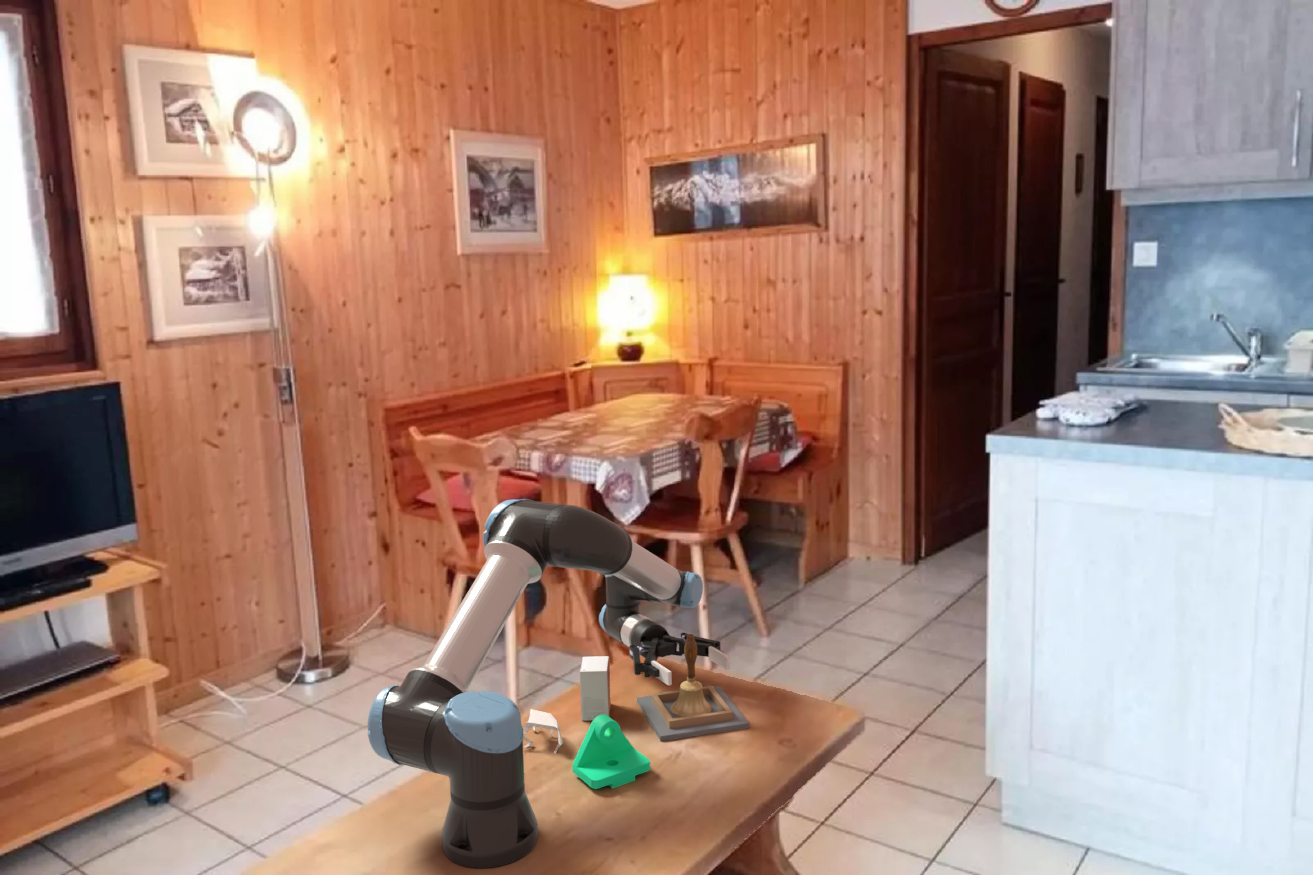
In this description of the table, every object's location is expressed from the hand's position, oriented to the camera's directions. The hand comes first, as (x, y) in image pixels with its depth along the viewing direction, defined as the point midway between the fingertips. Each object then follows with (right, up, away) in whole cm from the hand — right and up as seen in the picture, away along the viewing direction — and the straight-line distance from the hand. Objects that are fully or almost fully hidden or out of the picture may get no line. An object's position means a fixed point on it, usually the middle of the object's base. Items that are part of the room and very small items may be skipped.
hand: (699, 670), depth 203 cm
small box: (-21, -10, +7) cm, 24 cm away
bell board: (-1, -10, +5) cm, 11 cm away
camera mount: (-16, -15, -18) cm, 29 cm away
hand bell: (-1, -9, +5) cm, 10 cm away
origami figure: (-30, -13, -6) cm, 33 cm away
